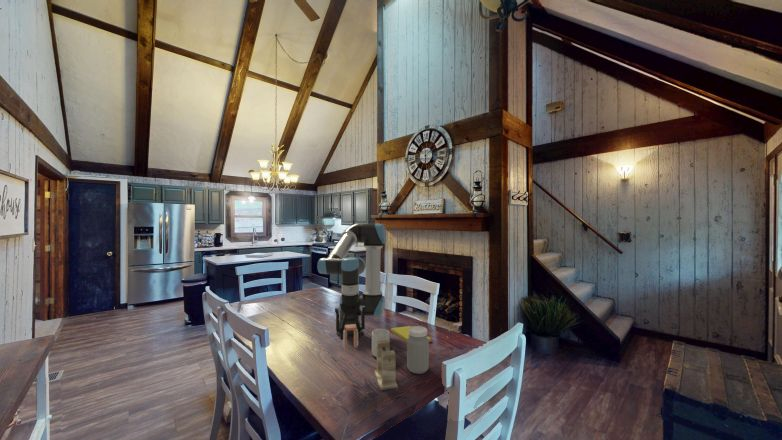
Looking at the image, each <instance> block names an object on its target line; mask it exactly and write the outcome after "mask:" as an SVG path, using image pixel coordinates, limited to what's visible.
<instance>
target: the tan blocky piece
mask: <svg viewBox="0 0 782 440" xmlns="http://www.w3.org/2000/svg"><path fill="white" fill-rule="evenodd" d="M396 359H397V358H396V351H395V350H390V340H389V341H388V340H378V341H377V357H376V369H374V375H375V378H376V380H377V381H376V382H377V383H378V387H379V390H380V391H385V390H386V391H387V390H392V389H398V387H399V386H398V384H397V381H396V371H397V370H396V366H397V365H396V361H397V360H396Z"/></svg>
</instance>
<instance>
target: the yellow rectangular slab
mask: <svg viewBox="0 0 782 440" xmlns="http://www.w3.org/2000/svg"><path fill="white" fill-rule="evenodd" d="M410 327H412V326H411V325H407V326H398V327H397V326H396V327H391V328H390V331H391V332H392V333H393V334H395V335H396V336H398V337H399V338H400V339H402V340H403V341H405V342H406V343H407V339H408V337H409V328H410ZM427 338H428V340H429V343H432V341H433V339H432V338H431V337H430V336H428V335H427Z"/></svg>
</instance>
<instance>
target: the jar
mask: <svg viewBox="0 0 782 440" xmlns="http://www.w3.org/2000/svg"><path fill="white" fill-rule="evenodd" d="M427 336H428V329H427V327H424V326H422V325H416V326H415V325H413V326H411V327H410V328H409V337H408V339H407V342H406V368H407V369H408V370H409V372H410V373H413V374H416V375H421V374H425V373H426V372H428V370H429V366H430V364H429V363H430V361H429V360H430V357H429V355H430V352H429V351H430V349H429V347H430V342H429V340H428V338H427Z"/></svg>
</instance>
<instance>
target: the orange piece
mask: <svg viewBox="0 0 782 440" xmlns="http://www.w3.org/2000/svg"><path fill="white" fill-rule="evenodd" d="M349 330H354V337H353V347H354V349H357V347H358V346H357V327H356V324H350V325H345V327H344V331H345V348H344V349H345V350H347V349H348V337H347V331H349Z"/></svg>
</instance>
